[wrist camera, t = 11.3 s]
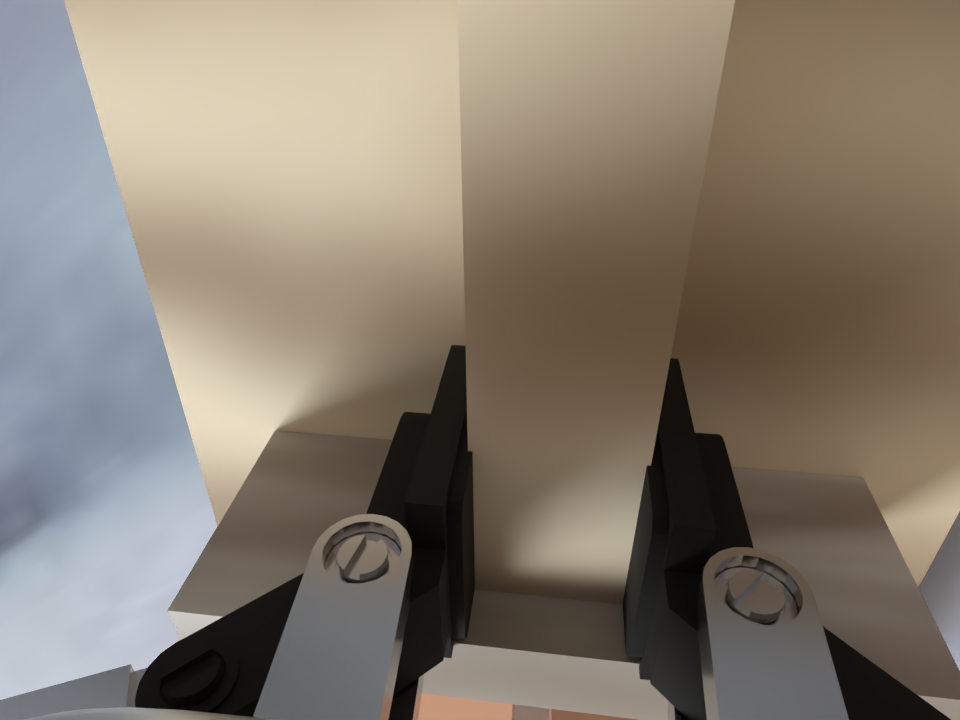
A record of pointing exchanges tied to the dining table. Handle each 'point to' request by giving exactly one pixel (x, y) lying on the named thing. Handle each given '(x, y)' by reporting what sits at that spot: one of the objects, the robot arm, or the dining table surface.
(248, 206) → the board
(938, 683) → the scraper
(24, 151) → the dining table surface
